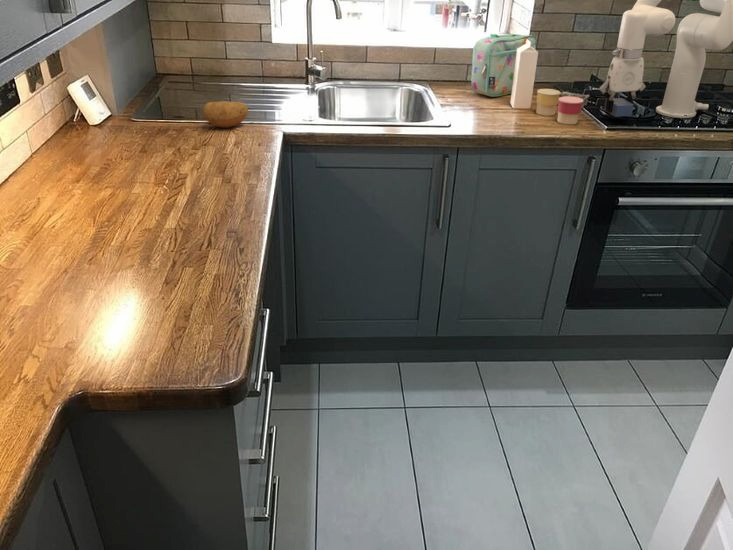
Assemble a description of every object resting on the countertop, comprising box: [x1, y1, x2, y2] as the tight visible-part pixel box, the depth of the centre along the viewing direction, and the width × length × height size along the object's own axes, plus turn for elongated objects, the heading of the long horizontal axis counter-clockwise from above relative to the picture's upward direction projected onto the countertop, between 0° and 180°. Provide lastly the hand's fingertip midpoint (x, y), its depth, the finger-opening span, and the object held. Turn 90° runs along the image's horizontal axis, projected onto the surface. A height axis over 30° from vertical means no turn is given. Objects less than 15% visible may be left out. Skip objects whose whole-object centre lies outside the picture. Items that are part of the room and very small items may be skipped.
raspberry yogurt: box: [556, 96, 583, 125], centre depth 198 cm, size 8×8×7 cm
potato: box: [202, 100, 249, 129], centre depth 192 cm, size 10×14×8 cm
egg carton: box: [556, 91, 590, 109], centre depth 216 cm, size 11×8×4 cm
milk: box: [509, 39, 539, 109], centre depth 210 cm, size 6×6×22 cm
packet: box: [603, 97, 634, 118], centre depth 198 cm, size 6×8×4 cm
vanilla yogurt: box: [535, 88, 561, 117], centre depth 207 cm, size 8×8×7 cm
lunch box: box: [470, 33, 537, 98], centre depth 225 cm, size 27×10×21 cm, turn 127°
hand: (618, 110), depth 198 cm, fingers closed on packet, 5 cm apart
